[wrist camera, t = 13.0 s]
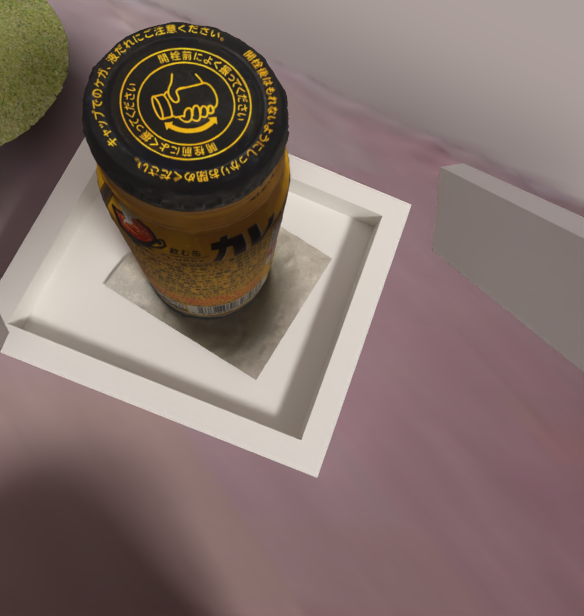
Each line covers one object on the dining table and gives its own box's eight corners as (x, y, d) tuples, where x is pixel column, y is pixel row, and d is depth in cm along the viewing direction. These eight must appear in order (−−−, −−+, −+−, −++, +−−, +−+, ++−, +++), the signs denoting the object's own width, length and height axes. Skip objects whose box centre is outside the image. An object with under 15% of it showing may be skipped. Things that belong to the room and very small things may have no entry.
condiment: (192, 173, 24) (155, -54, 12) (331, 259, 24) (423, 110, 12) (105, 286, 22) (-35, 142, 11) (255, 381, 22) (280, 339, 10)
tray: (-8, 346, 22) (-34, 338, 20) (126, 110, 25) (116, 82, 23) (309, 471, 22) (317, 477, 20) (396, 222, 26) (411, 204, 24)
